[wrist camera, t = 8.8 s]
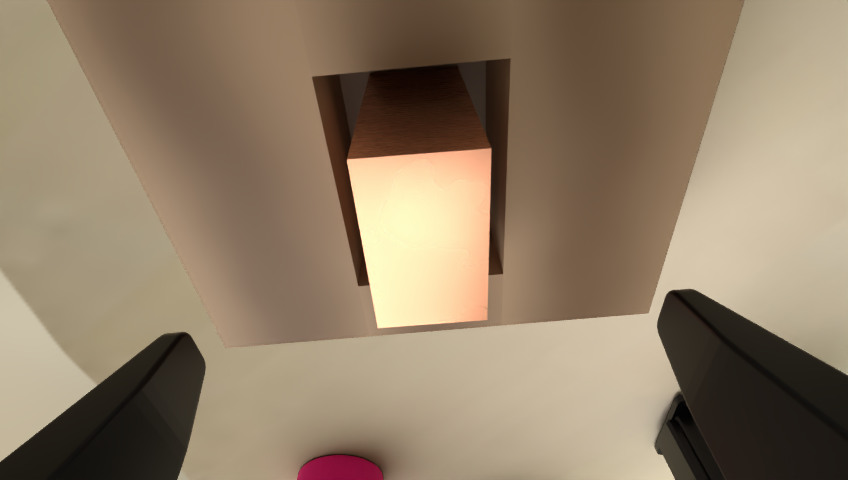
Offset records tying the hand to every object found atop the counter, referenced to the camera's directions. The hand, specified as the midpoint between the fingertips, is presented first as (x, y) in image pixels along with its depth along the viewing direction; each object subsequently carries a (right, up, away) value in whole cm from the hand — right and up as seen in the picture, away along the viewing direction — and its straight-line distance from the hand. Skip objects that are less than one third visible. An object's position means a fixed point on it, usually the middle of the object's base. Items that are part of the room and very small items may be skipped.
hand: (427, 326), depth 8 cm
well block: (0, +6, +9) cm, 11 cm away
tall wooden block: (0, +5, +8) cm, 10 cm away
